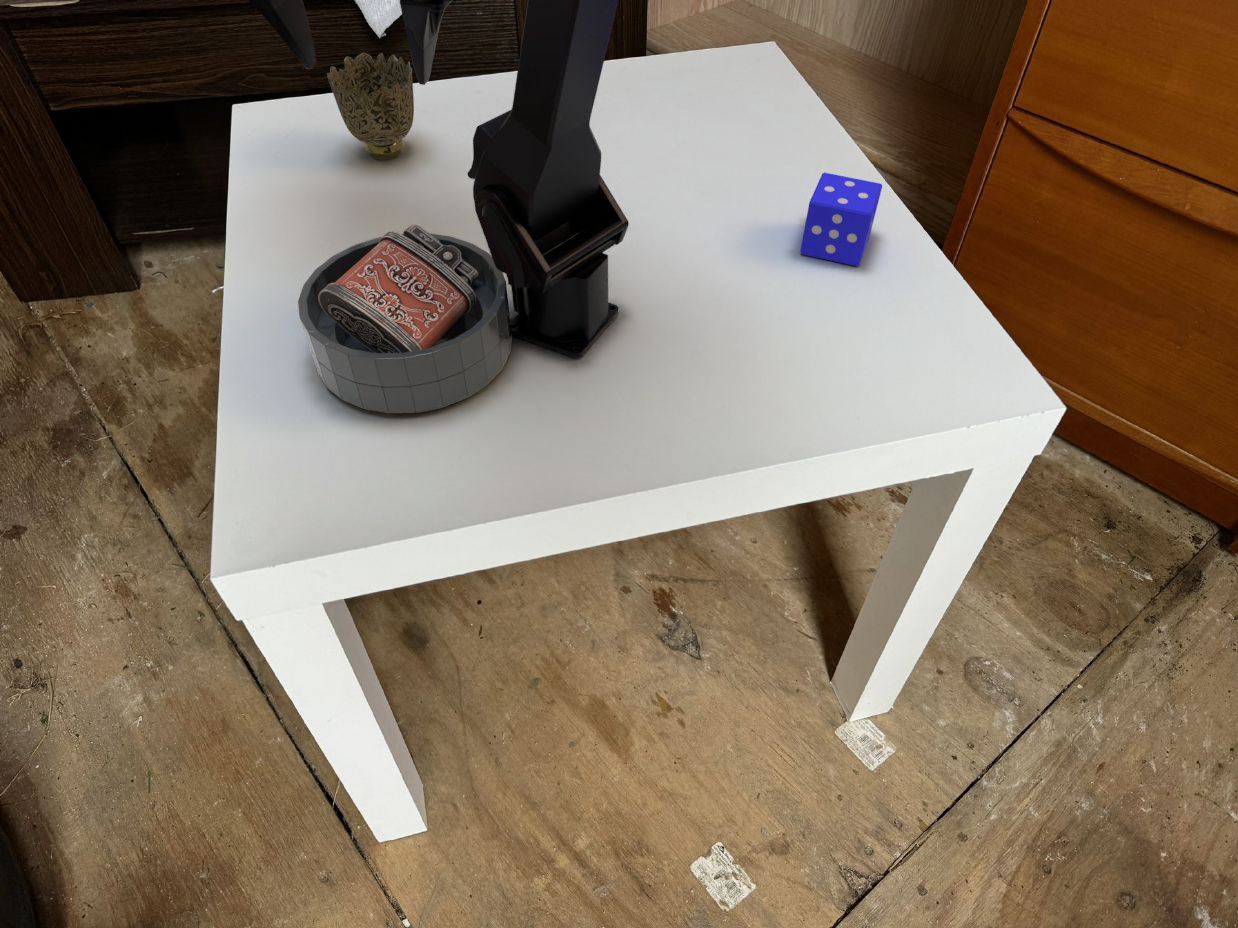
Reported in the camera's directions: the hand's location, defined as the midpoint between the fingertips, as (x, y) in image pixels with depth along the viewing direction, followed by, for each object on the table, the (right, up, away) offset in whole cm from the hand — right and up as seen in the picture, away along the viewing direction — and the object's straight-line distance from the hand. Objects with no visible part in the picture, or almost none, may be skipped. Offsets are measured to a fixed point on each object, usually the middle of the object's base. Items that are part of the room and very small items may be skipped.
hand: (367, 74), depth 67 cm
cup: (-3, 0, +18) cm, 19 cm away
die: (+37, -11, +9) cm, 40 cm away
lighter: (+2, -21, -7) cm, 22 cm away
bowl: (+4, -21, -1) cm, 21 cm away
